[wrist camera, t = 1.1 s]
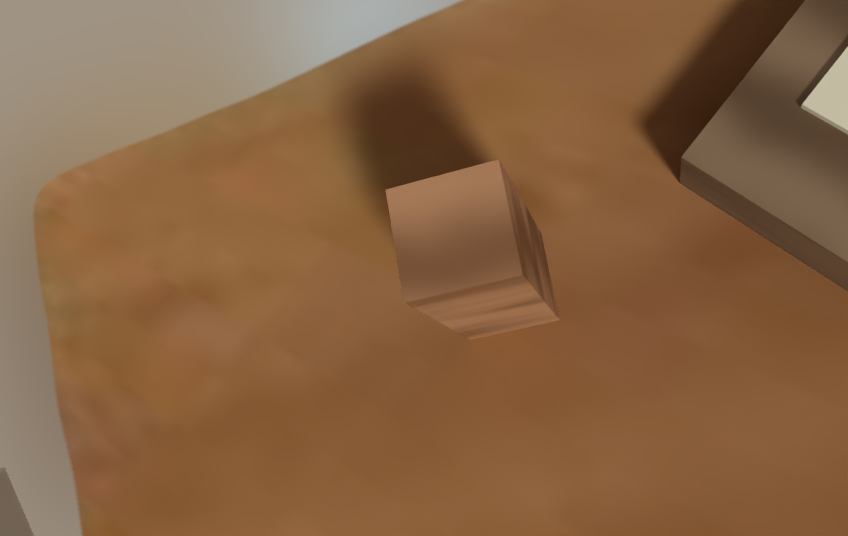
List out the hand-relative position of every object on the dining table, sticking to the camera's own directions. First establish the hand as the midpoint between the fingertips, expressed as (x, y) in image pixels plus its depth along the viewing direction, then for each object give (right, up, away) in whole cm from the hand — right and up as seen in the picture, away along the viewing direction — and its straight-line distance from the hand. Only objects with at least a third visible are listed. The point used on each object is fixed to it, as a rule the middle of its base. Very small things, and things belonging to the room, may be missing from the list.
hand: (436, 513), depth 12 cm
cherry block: (+4, +3, +32) cm, 33 cm away
